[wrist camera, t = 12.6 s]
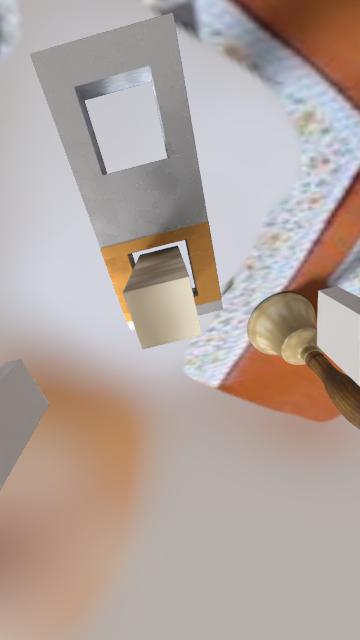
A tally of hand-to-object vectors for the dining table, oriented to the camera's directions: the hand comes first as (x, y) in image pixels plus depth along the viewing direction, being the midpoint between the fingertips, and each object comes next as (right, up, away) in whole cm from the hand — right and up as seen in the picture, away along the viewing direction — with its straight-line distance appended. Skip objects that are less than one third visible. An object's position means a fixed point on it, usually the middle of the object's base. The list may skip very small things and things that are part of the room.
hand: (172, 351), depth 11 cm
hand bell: (+13, +1, +19) cm, 23 cm away
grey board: (-3, +12, +12) cm, 18 cm away
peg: (-1, +7, +15) cm, 17 cm away
